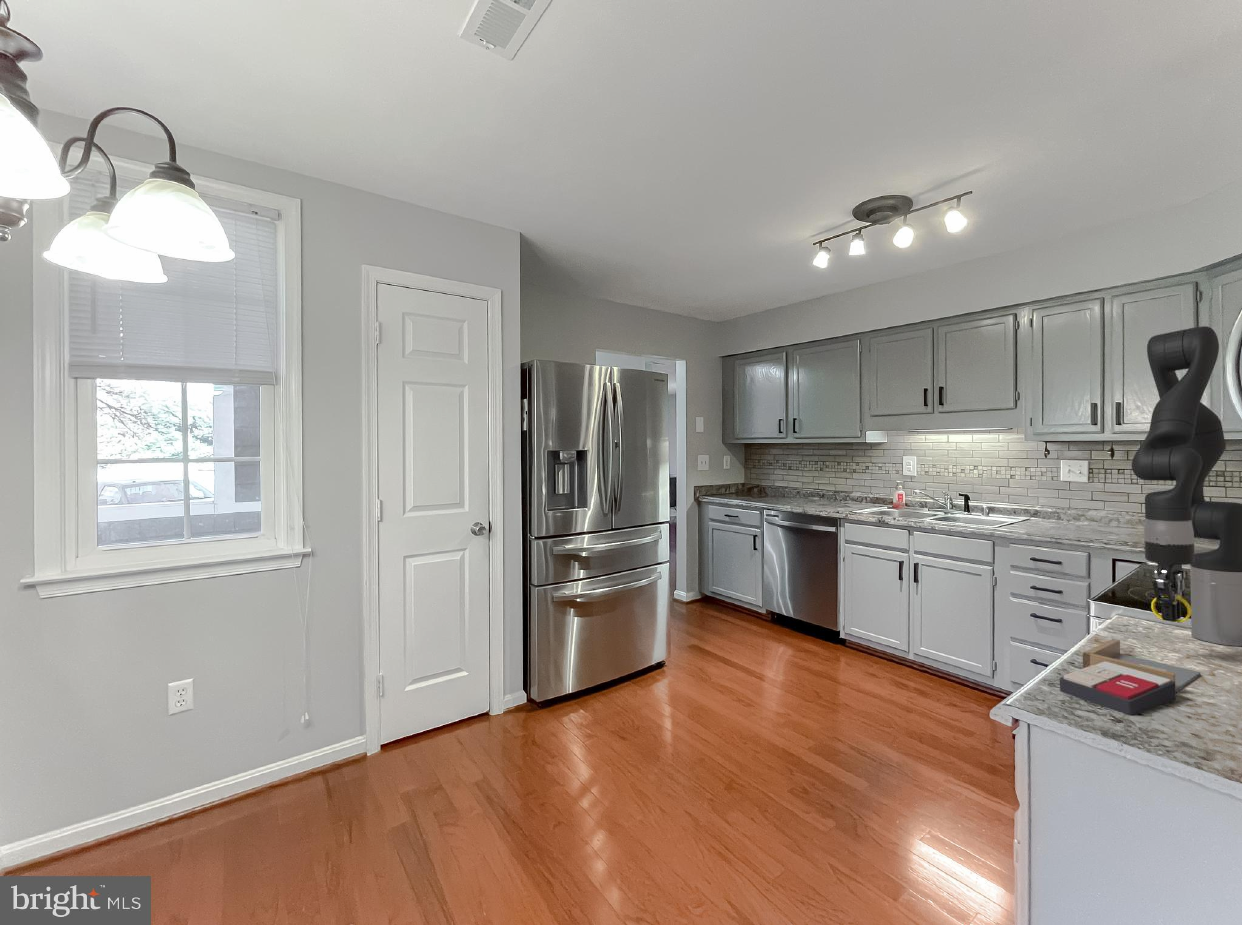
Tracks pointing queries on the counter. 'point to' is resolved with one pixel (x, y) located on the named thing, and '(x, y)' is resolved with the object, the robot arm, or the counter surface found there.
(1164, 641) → the counter surface
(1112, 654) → the corner tray
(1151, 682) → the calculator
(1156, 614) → the watch
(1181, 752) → the counter surface
